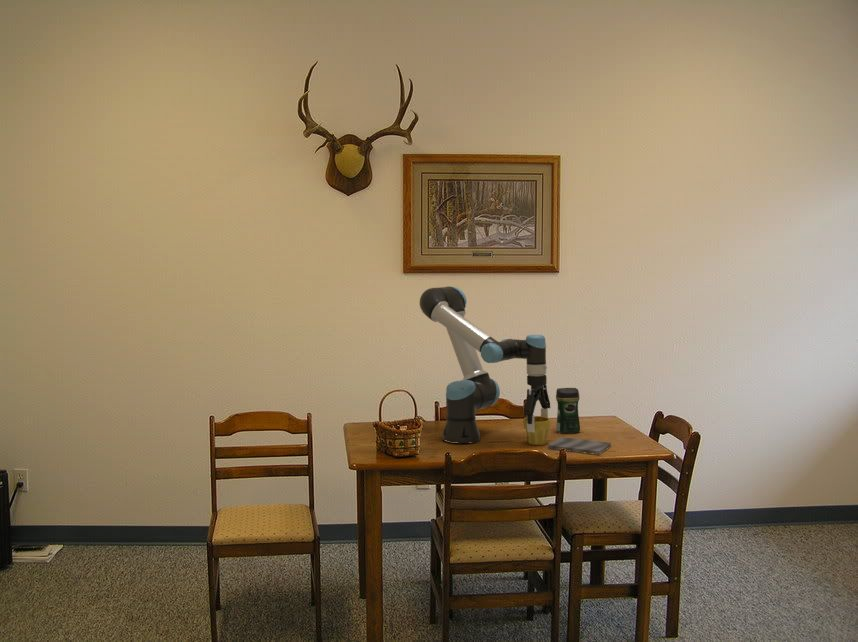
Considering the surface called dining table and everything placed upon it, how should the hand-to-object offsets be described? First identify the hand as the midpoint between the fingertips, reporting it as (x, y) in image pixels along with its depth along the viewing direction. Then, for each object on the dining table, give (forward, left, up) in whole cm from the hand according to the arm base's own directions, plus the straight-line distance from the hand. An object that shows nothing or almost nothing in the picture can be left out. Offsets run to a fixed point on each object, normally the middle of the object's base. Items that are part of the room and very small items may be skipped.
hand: (537, 428), depth 282 cm
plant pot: (0, 0, -6) cm, 6 cm away
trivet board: (+17, +1, -6) cm, 18 cm away
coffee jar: (+4, +23, -6) cm, 24 cm away
